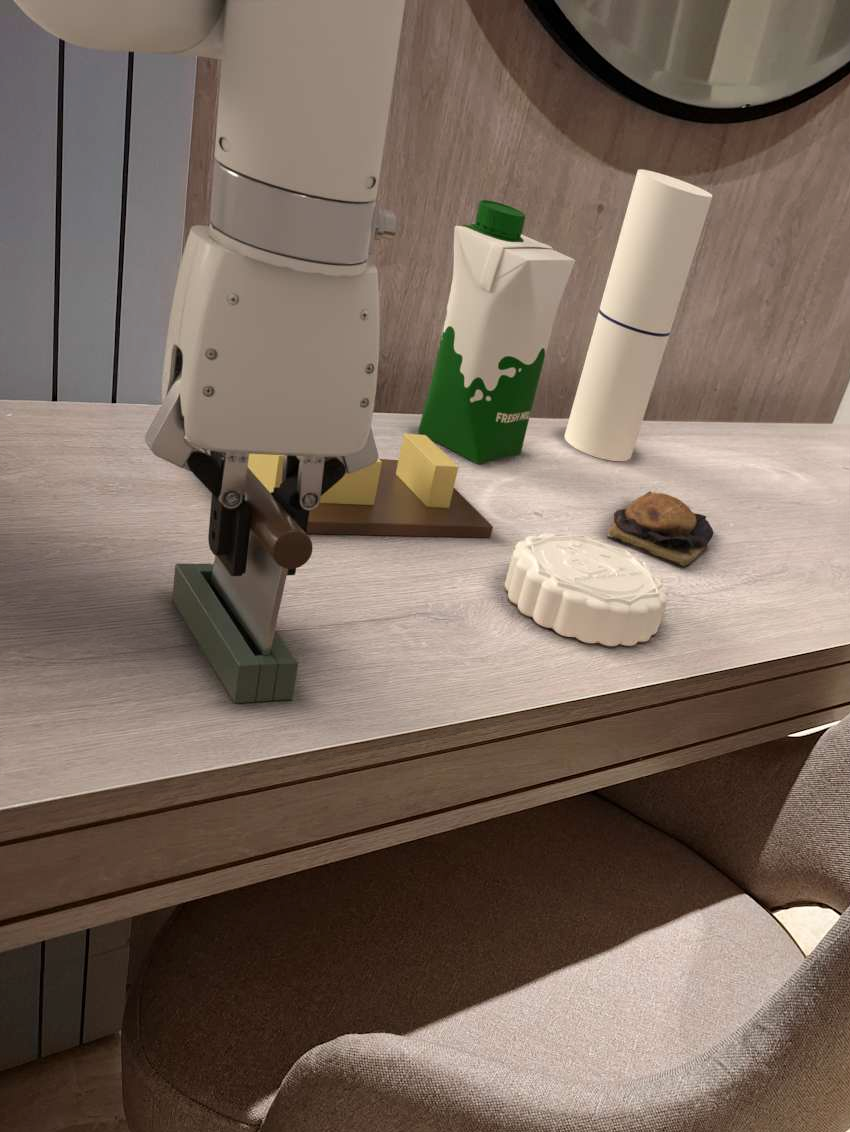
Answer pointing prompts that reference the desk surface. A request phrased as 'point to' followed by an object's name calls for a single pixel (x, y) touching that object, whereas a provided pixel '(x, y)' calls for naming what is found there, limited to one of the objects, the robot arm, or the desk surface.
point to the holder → (231, 641)
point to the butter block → (345, 491)
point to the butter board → (398, 513)
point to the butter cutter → (263, 564)
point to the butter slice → (426, 470)
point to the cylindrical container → (636, 314)
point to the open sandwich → (663, 527)
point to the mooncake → (586, 589)
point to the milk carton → (493, 335)
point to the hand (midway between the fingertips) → (254, 562)
